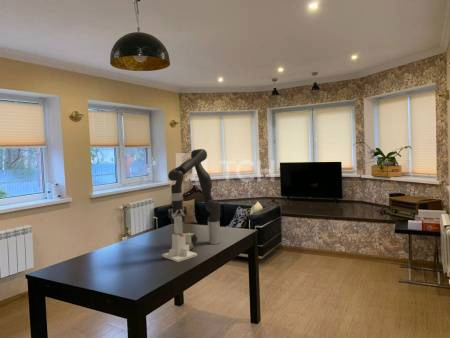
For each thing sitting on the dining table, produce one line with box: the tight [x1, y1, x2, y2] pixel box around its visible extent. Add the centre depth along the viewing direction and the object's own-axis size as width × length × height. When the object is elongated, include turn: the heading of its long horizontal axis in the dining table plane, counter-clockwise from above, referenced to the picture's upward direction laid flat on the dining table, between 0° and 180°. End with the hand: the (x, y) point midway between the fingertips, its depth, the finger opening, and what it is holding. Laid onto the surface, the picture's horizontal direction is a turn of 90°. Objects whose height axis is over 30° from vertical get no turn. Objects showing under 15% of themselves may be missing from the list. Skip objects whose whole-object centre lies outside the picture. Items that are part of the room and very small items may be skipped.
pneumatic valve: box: [184, 232, 198, 250], centre depth 250 cm, size 6×12×12 cm, turn 56°
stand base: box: [161, 233, 198, 263], centre depth 232 cm, size 17×18×16 cm
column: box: [173, 216, 184, 235], centre depth 231 cm, size 4×4×20 cm
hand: (178, 222), depth 231 cm, fingers open, 8 cm apart
